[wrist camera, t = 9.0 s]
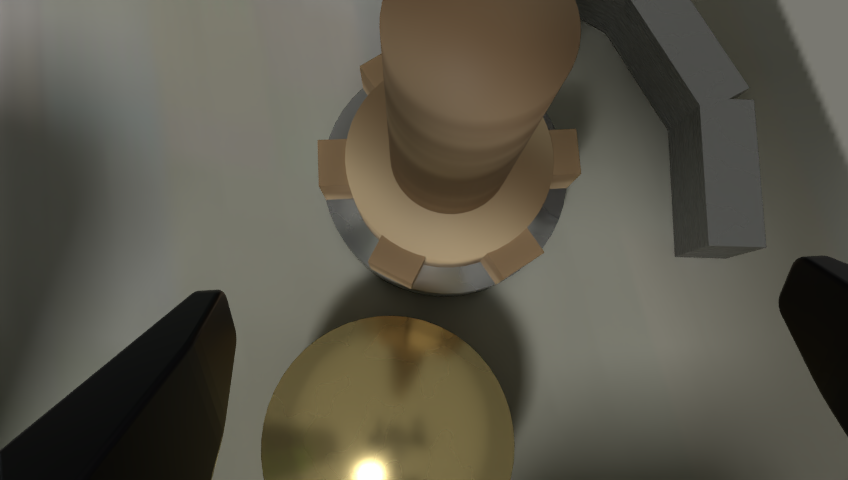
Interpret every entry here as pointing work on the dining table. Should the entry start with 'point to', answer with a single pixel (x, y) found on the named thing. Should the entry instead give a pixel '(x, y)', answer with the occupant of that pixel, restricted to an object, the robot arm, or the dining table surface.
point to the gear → (458, 133)
